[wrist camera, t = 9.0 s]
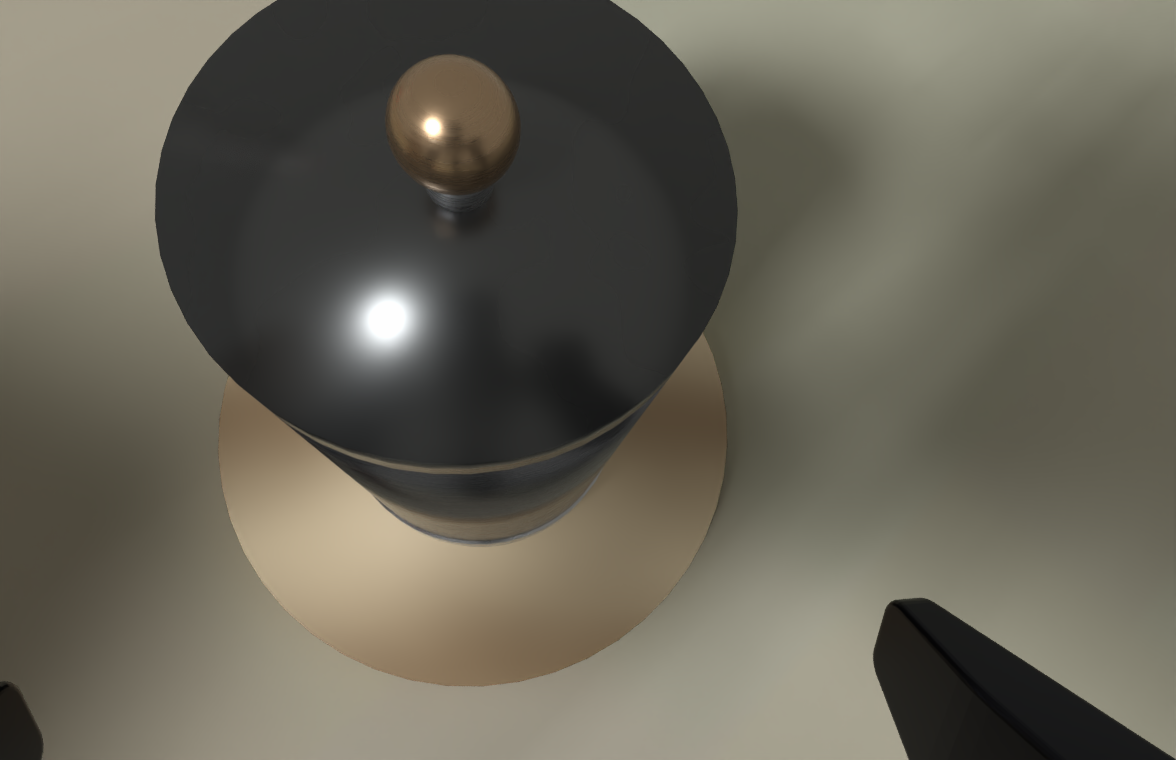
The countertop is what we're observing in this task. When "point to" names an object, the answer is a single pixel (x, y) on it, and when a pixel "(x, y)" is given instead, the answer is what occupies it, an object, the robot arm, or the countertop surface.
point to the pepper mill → (449, 241)
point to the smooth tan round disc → (478, 574)
